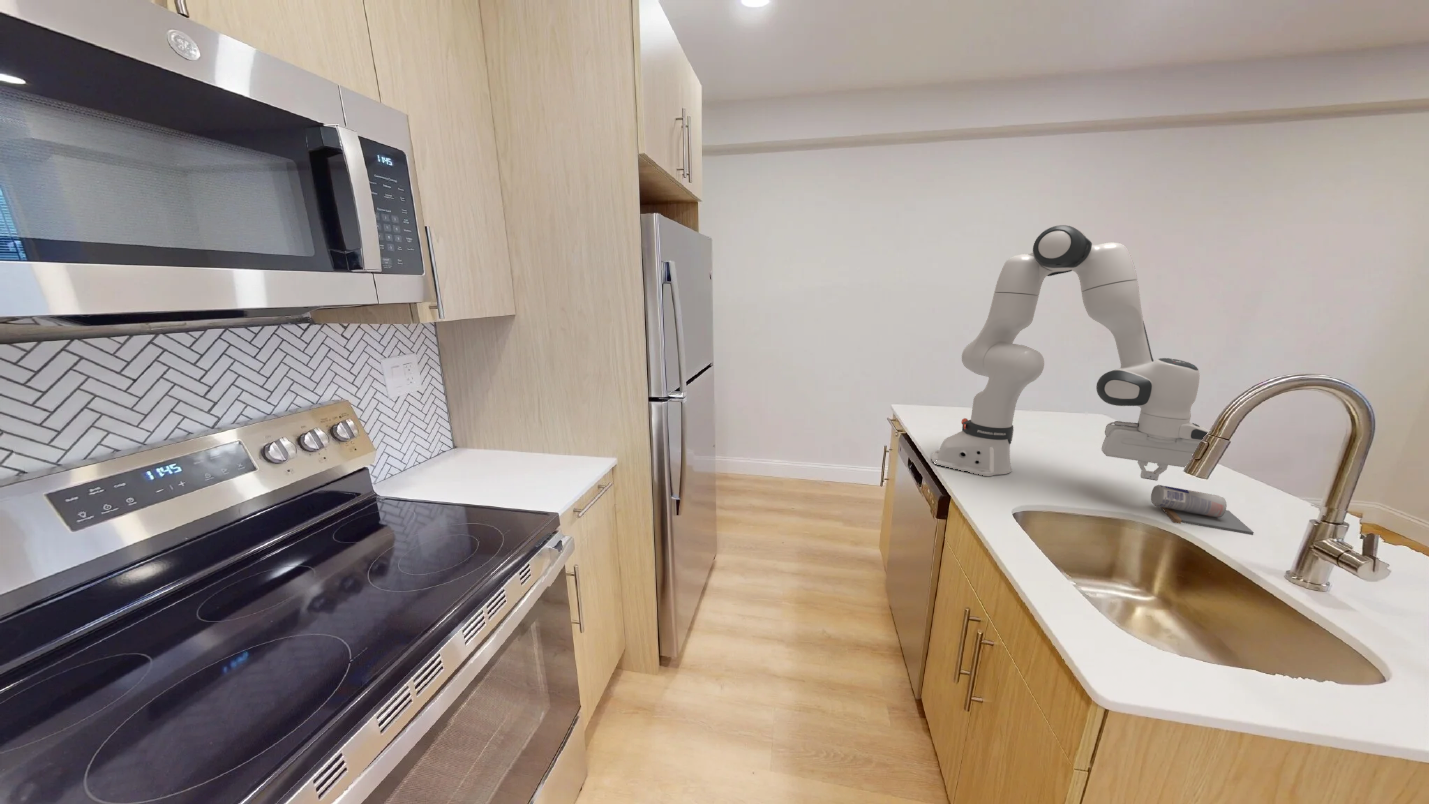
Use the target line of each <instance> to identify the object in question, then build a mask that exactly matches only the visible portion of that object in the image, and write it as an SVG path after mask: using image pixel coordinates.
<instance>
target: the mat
mask: <svg viewBox="0 0 1429 804" xmlns="http://www.w3.org/2000/svg"><path fill="white" fill-rule="evenodd" d="M1172 510H1173V511H1174V512H1175V513H1176V514H1177V515H1178V516H1179V517H1180V519H1181V520H1182V521H1181V524H1182V523H1184V524H1190V525H1194V526H1199V527H1206V528H1212V529H1218V530H1223V531H1230V532H1236V533H1240V534H1247V535H1254V533H1255V532H1254V531H1253V530H1252V529H1251V528H1250V527H1248V525H1246V524H1245V523H1244V522H1243V521H1241V519H1239V518H1238V517H1237V516H1236V515H1235V514H1234V513H1233V512H1231V511H1230V510H1229V509H1226V511H1225V514H1224V515H1223V516H1222V517H1210V516H1205V515H1200V514H1195V513H1190V512H1184V511H1179V510H1174V509H1172Z"/></svg>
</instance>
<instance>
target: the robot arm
mask: <svg viewBox="0 0 1429 804" xmlns="http://www.w3.org/2000/svg"><path fill="white" fill-rule="evenodd" d="M1071 272H1074V273H1076V275H1077V277H1078V280H1079V283H1080V291H1081V298H1082V302H1083V307H1084V309H1085V311H1086V313H1087V315H1088V317H1090V318H1091V319H1092V320H1093V321H1094V322H1097V323H1099V324H1101V325H1102V326H1104V327H1105V328H1106V329H1107V330H1108V331H1110V333H1111V334H1112V336H1113V339H1114V341H1115V344H1116V345H1115V346H1116V350H1117V354H1118V358H1119V363H1120V368H1117V369H1111V370H1109V371H1107V372H1106V373H1103V374H1102V375H1101V376H1100V377H1099V378H1098V380H1097V382H1096V393H1097V395H1098V397H1099V398H1100V399H1101V400H1102V401H1103V402H1104V403H1106V404H1109V405H1112V406H1117V407H1139V408H1140V411H1139V415H1138V419H1137V422H1130V421H1129V422H1128V421H1121V420H1115V421H1114V422H1113V421H1112V422H1111V421H1110V422H1109V423H1107V424H1106V426H1105V430H1104V435H1105V437H1104V440H1103V441H1102V445H1101V448H1100V449H1101V451H1102V453H1103V454H1104V456H1106V457H1108V458H1116V459H1124V460H1130V461H1137V465H1138V466H1139V467H1138V468H1139V469H1140V470H1141V472H1140V475H1139V476H1140V478H1141V479H1143V480H1150V481H1151V480H1152V481H1157V482H1158V480H1159V476H1160V475H1161V474H1163V473H1165V472H1166V471H1167V469H1168V466H1172V467H1179V468H1185V466H1186V465H1187V463H1188V462H1189V460H1190V459H1191V458H1192V454H1193V453H1194V451H1195V450H1196V447H1197V446H1198V445H1199V443H1200V442H1201V440H1202V439H1203V437H1204V436H1205V435H1206V434H1207V433H1208V432H1209V431H1211V430H1210V429H1208V428H1207V427H1204V426H1202V425H1199V424H1196V423H1193V422H1191V418H1192V413H1191V409H1192V406H1193V405H1194V403H1195V401H1196V399H1197V395H1198V391H1199V384H1200V375H1201V374H1200V370H1199V368H1198V367H1197V366H1196V365H1195V364H1193V363H1191V362H1189V361H1185V360H1181V359H1176V358H1169V357H1168V358H1167V357H1162V358H1157V359H1156V360H1154V358H1153V353H1152V350H1151V346H1150V341H1149V337H1148V334H1147V330H1146V325H1145V323H1144V319H1143V318H1144V316H1143V311H1142V304H1141V297H1140V296H1141V294H1140V287H1139V280H1138V276H1137V271H1136V267H1135V265H1134V262H1133V258H1132V255H1131V253H1130V251H1129V249H1128V248H1127V246H1126V245H1124V244H1123V243H1120V242H1115V241H1114V242H1113V241H1111V242H1104V243H1099V244H1093V243H1092V241H1091V240H1090V239H1089V238H1087V236H1086V235H1085V234H1084V232H1082V231H1081V230H1079V229H1077V228H1076V227H1074V226H1070V225H1066V224H1060V225H1054V226H1052V227H1049V228H1047V229H1045V230H1044V231H1042V232H1041V233H1040V234H1039V235H1038V236H1037V237H1036V239H1035V241H1034V243H1033V246H1032V252H1030V253H1028V254H1027V253H1020V254H1015V255H1014V256H1011V257H1009V258H1008V259H1006V261H1005V262H1004V264H1003V267H1002V269H1001V271H1000V274H999V276H998V278H997V281H996V285H995V287H994V293H993V297H992V301H991V304H990V305H991V306H990V309H989V313H988V315H987V319H986V321H985V323H984V326H983V327H982V328H981V330H980V332H979V334H978V335H977V336H976V338H975V339H974V340H973V341H971V342H970V343H968V344H967V345H966V346H965V347H964V349H963V351H962V353H961V362H962V365H963V367H965V368H966V369H968V370H969V371H970V372H972V373H974V374H976V375H980V376H983V377H986V378H987V377H988V381H987V384H986V386H985V387H984V389H983V390H982V391H980V392H978V393H976V394H975V395H974V397H973V402H972V408H971V409H972V410H971V417H970V419H968V418H965V417H964V418H962V419H961V425H962V427H961V431H959V432H957V433H955V434H953V435H950V436H948V437H946V438H945V439H944V440H943V441H942V443H941V445H940V446H939V447H940V448H939V450H935V451H934V452H933V453H932V454H931V456H932V457H930V460H931V459H932V461H933V462H935V463H936V464H938V465H942V466H945V467H944V468H946V467H949V468H948V469H950V468H953V469H952V470H955V469H958V470H957V471H959V470H961V471H960V472H964V471H968V472H970V473H969V474H973V473H974V474H973V475H978V474H979V475H978V476H982V475H983V477H993V476H997V475H1006V474H1010V473H1011V472H1012V470H1013V469H1012V463H1011V455H1010V454H1011V444H1012V441H1013V437H1014V425H1013V422H1014V417H1015V416H1014V415H1015V412H1016V407H1017V402H1018V400H1019V397H1020V395H1021V394H1022V392H1023V390H1024V389H1025V388H1026V387H1028V385H1029V384H1031V383H1033V382H1035V381H1036V380H1037V379H1038V378H1040V376H1041V375H1042V373H1043V371H1044V368H1045V358H1044V356H1043V354H1042V353H1041V352H1040V351H1038V350H1037V349H1036V350H1035V348H1031V347H1029V346H1027V345H1023V344H1017V343H1014V342H1015V339H1016V337H1018V335H1019V334H1020V333H1021V332H1022V331H1023V330H1025V329H1026V328H1028V327H1029V326H1030V325H1031V324H1032V322H1033V320H1034V316H1035V311H1036V309H1037V304H1038V301H1039V297H1040V292H1041V288H1042V285H1043V282H1044V281H1045V278H1047V277H1051V276H1057V275H1059V274H1060V275H1061V274H1067V273H1071ZM936 460H937V461H936ZM932 461H931V462H932ZM1148 463H1152V464H1156V465H1157V468H1156V469H1154V471H1150V470H1147V469H1146V467H1148ZM968 472H967V473H968Z"/></svg>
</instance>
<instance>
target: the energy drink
mask: <svg viewBox="0 0 1429 804" xmlns="http://www.w3.org/2000/svg"><path fill="white" fill-rule="evenodd" d="M1150 500H1151V503H1152V504H1151V505H1154V506H1156V507H1158V508H1159V507H1160V508H1161V507H1164V508H1169V509H1174V510H1179V511H1184V512H1190V513H1195V514H1200V515H1205V516H1210V517H1222V516H1223V515H1224V514H1225V511H1226V510H1227V501H1226V498H1225V497H1224V496H1220V495H1218V494H1212V493H1207V492H1201V491H1196V490H1191V489H1184V488H1179V487H1178V488H1177V487H1173V486H1168V485H1162V484H1156V485H1154V487H1153V488H1152V491H1151V493H1150Z"/></svg>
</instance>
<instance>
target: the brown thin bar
mask: <svg viewBox="0 0 1429 804" xmlns="http://www.w3.org/2000/svg"><path fill="white" fill-rule="evenodd" d="M1160 508H1161V509H1162V510H1163V511H1164V513H1165V514H1166V515H1167V516H1168V517H1169V519H1171V521H1172V522H1173V523H1174V524H1182V522H1181V521H1182V520H1181V519H1180V517H1179V516H1178V515H1177V514H1176V513H1175V512H1174V511H1173V510H1172V509H1169V508H1164V507H1160Z"/></svg>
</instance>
